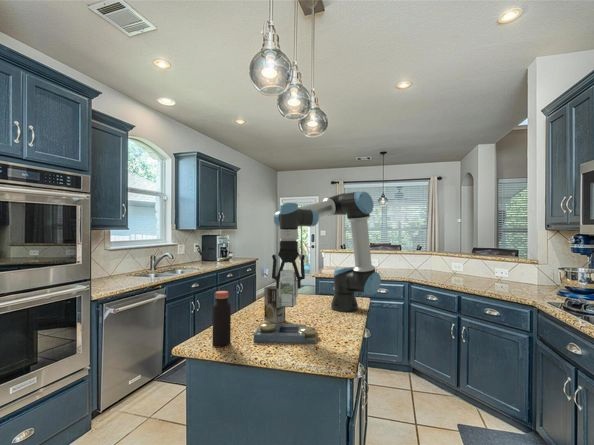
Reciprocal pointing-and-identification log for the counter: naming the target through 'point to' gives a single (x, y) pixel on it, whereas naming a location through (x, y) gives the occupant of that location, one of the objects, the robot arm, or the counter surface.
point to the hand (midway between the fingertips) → (288, 296)
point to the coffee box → (273, 305)
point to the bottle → (221, 320)
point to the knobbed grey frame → (277, 332)
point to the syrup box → (287, 288)
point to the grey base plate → (309, 339)
